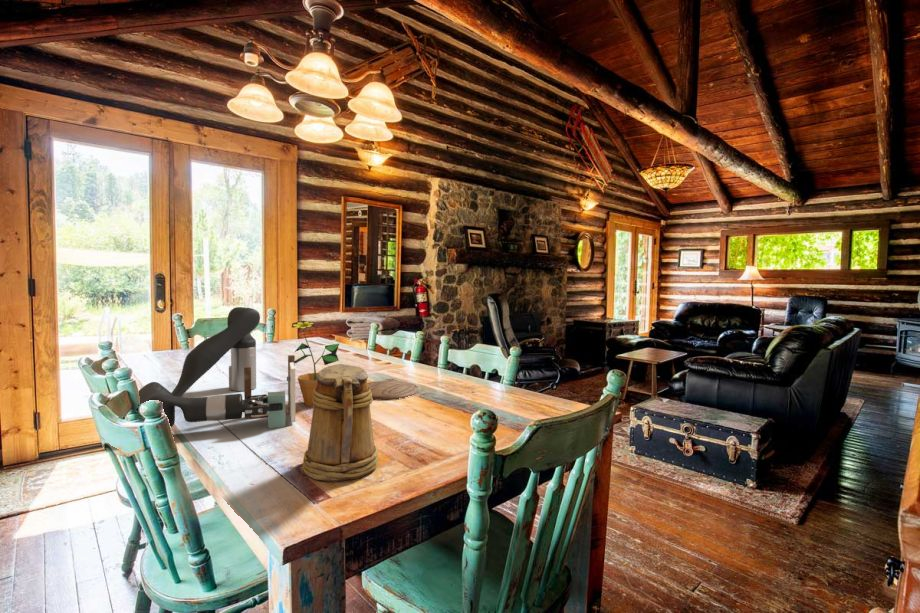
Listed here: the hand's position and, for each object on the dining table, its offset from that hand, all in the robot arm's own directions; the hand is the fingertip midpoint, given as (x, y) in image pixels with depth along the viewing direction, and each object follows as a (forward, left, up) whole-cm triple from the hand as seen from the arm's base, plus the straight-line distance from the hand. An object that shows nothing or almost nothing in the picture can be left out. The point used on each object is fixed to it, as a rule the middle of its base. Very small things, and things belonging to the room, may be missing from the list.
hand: (282, 402), depth 143 cm
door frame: (-8, +7, -7) cm, 13 cm away
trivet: (+21, +45, -7) cm, 51 cm away
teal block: (-1, -1, -7) cm, 7 cm away
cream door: (+1, +4, -6) cm, 7 cm away
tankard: (+31, -29, -7) cm, 43 cm away
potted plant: (0, +23, -7) cm, 24 cm away
